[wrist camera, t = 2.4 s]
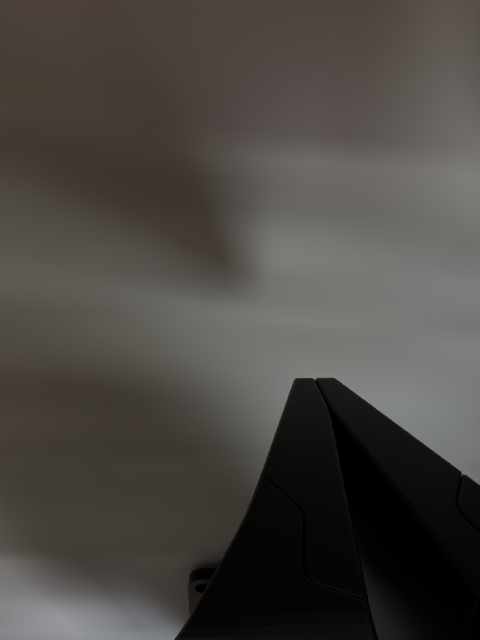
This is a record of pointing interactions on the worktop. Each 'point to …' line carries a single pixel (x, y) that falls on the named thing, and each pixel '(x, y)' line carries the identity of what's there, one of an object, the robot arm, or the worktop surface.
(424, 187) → the worktop surface
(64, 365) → the worktop surface
